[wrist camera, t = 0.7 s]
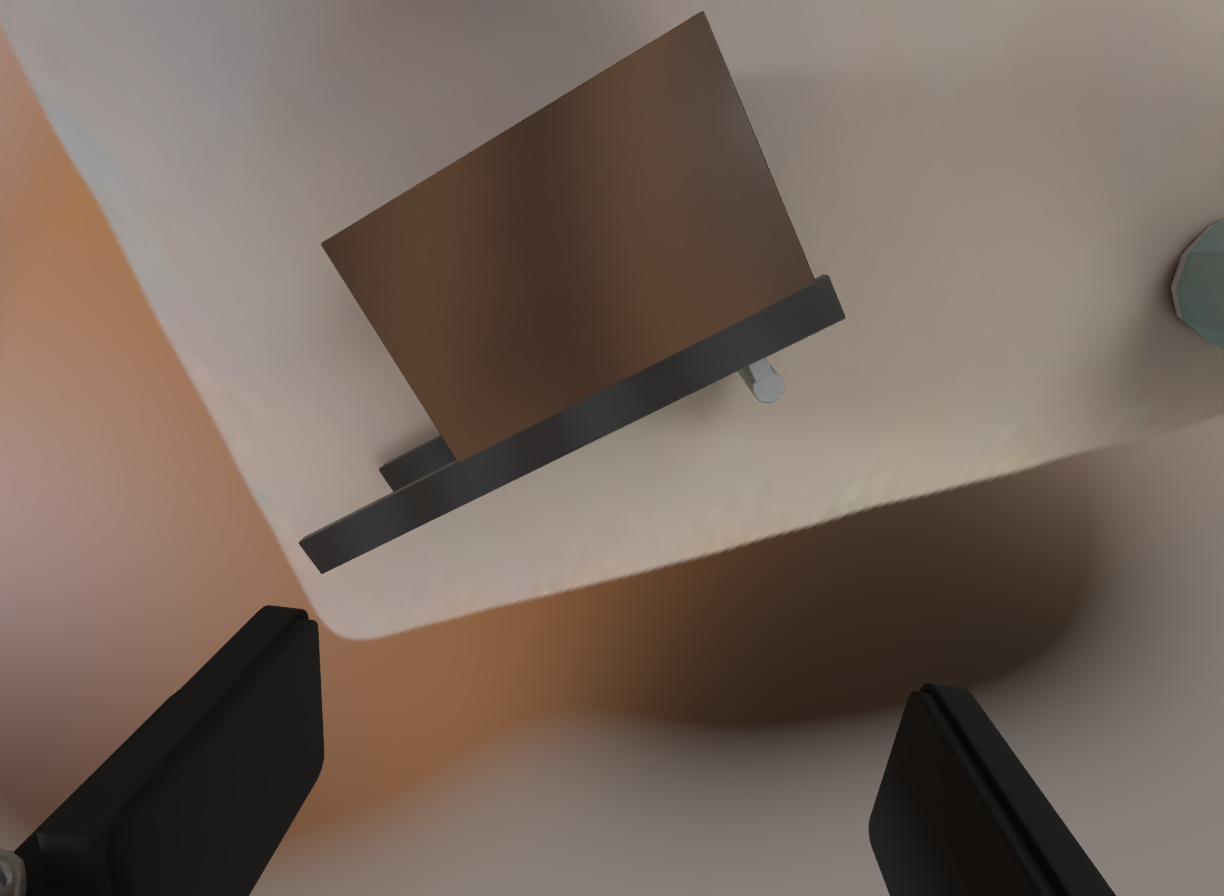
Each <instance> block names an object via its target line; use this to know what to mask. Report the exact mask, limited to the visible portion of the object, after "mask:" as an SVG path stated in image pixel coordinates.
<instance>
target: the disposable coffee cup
mask: <svg viewBox="0 0 1224 896" xmlns="http://www.w3.org/2000/svg"><path fill="white" fill-rule="evenodd" d="M1171 292H1172V296H1173V301H1174V305H1175V310H1176V314H1177V317H1179V318H1180V319H1181V320H1182V321H1183V322H1184V323H1185V324H1186V325H1188V326H1189V327H1190V328H1191V329H1193V330H1194V331H1195V332H1196V333H1197V334H1199V335H1200V336H1201V337H1202V338H1203V339H1205V340H1206V341H1207V342H1209V343H1212V344H1215V345H1218V346H1221V347H1223V348H1224V219H1222V220H1220V221H1218V222H1217V223H1215V224H1213V225H1211V226H1209V227H1207V228H1206V229H1205V230H1204V231H1203V232H1202V233H1201V234H1200V235H1199V236H1198V238H1197V239H1196V240H1195V241H1194V242H1193V243H1192V244H1191V245H1190V246H1189V247H1188V248H1187V249H1186V250H1185V251H1184V253H1183V254H1182V255H1181V257H1180V261H1179V264H1178V267H1177V270H1176V273H1175V276H1174V279H1173V282H1172V285H1171Z"/></svg>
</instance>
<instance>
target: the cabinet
mask: <svg viewBox="0 0 1224 896" xmlns="http://www.w3.org/2000/svg"><path fill="white" fill-rule="evenodd" d="M321 246H322V247H323V249H324V250H325V252H326V254H327V255H328V257H329V258H330V260H331V261H332V263H333V265H334V266H335V268H336V269H337V271H338V273H339V274H340V276H341V277H342V279H343V280H344V282H345V284H346V285H347V287H348V288H349V290H350V292H351V293H352V295H353V296H354V298H355V299H356V301H357V303H358V304H359V306H360V307H361V309H362V311H363V312H364V314H365V315H366V317H367V318H368V320H369V322H370V323H371V325H372V326H373V328H374V330H375V331H376V333H377V334H378V336H379V337H380V339H381V341H382V342H383V344H384V345H385V347H386V349H387V350H388V352H389V353H390V355H391V356H392V358H393V360H394V361H395V363H396V364H397V366H398V368H399V369H400V371H401V372H402V374H403V375H404V377H405V379H406V380H407V382H408V383H409V385H410V387H411V388H412V390H413V391H414V393H415V394H416V396H417V398H418V399H419V401H420V402H421V404H422V406H423V407H424V409H425V410H426V412H427V413H428V415H429V417H430V418H431V420H432V421H433V423H434V425H435V426H436V428H437V429H438V431H439V432H440V434H441V435H440V436H438V437H436V438H434V439H432V440H430V441H428V442H426V443H424V444H423V445H421V446H419V447H417V448H415V449H413V450H411V451H409V452H407V453H405V454H403V455H401V456H399V457H397V458H395V459H393V460H392V461H390V462H388V463H386V464H384V465H383V466H382V467H380V468H379V471H380V472H381V474H382V475H383V477H384V478H385V480H386V481H387V483H388V484H389V486H390V487H391V489H392V490H393V492H392V493H390V494H388V495H386V496H384V497H382V498H380V499H378V500H376V501H375V502H373V503H371V504H369V505H367V506H365V507H363V508H361V509H359V510H357V511H355V512H353V513H351V514H349V515H347V516H345V517H343V518H341V519H339V520H337V521H335V522H333V523H331V524H329V525H327V526H325V527H323V528H321V529H319V530H317V531H315V532H313V533H311V534H309V535H307V536H305V537H304V538H303V539H302V540H301V541H300V542H299V544H300V546H301V547H302V548H303V550H304V551H305V553H306V554H307V555H308V557H309V558H310V559H311V561H312V562H313V563H314V565H315V566H316V567H317V569H318V570H319V571H320V573H321V574H323V573H325V572H327V571H329V570H331V569H333V568H335V567H337V566H340V565H342V564H344V563H346V562H348V561H350V560H352V559H354V558H356V557H358V556H360V555H362V554H364V553H366V552H368V551H370V550H372V549H374V548H376V547H378V546H380V545H382V544H385V543H387V542H389V541H391V540H393V539H395V538H397V537H399V536H401V535H403V534H405V533H407V532H409V531H411V530H413V529H415V528H417V527H419V526H421V525H423V524H425V523H428V522H430V521H432V520H434V519H436V518H438V517H440V516H442V515H444V514H446V513H448V512H450V511H452V510H454V509H456V508H458V507H460V506H462V505H464V504H466V503H468V502H470V501H473V500H475V499H477V498H479V497H481V496H483V495H485V494H487V493H489V492H491V491H493V490H495V489H497V488H499V487H501V486H503V485H505V484H507V483H509V482H511V481H513V480H516V479H518V478H520V477H522V476H524V475H526V474H528V473H530V472H532V471H534V470H536V469H538V468H540V467H542V466H544V465H546V464H548V463H550V462H552V461H554V460H556V459H559V458H561V457H563V456H565V455H567V454H569V453H571V452H573V451H575V450H577V449H579V448H581V447H583V446H585V445H587V444H589V443H591V442H593V441H595V440H597V439H599V438H601V437H604V436H606V435H608V434H610V433H612V432H614V431H616V430H618V429H620V428H622V427H624V426H626V425H628V424H630V423H632V422H634V421H636V420H638V419H640V418H642V417H644V416H647V415H649V414H651V413H653V412H655V411H657V410H659V409H661V408H663V407H665V406H667V405H669V404H671V403H673V402H675V401H677V400H679V399H681V398H683V397H685V396H687V395H689V394H692V393H694V392H696V391H698V390H700V389H702V388H704V387H706V386H708V385H710V384H712V383H714V382H716V381H718V380H720V379H722V378H724V377H726V376H728V375H730V374H732V373H735V372H737V371H739V370H741V369H743V368H745V367H747V366H749V365H751V364H753V363H755V362H757V361H759V360H761V359H763V358H765V357H767V356H769V355H771V354H773V353H775V352H777V351H780V350H782V349H784V348H786V347H788V346H790V345H792V344H794V343H796V342H798V341H800V340H802V339H804V338H806V337H808V336H810V335H812V334H814V333H816V332H818V331H820V330H823V329H825V328H827V327H829V326H831V325H833V324H835V323H837V322H839V321H841V320H843V319H845V315H844V312H843V310H842V307H841V305H840V302H839V300H838V298H837V295H836V293H835V290H834V288H833V285H832V283H831V280H830V278H829V276H828V275H822V276H820V277H818V278H816V279H814V276H813V274H812V271H811V269H810V267H809V264H808V262H807V259H806V257H805V255H804V252H803V250H802V247H801V245H800V242H799V240H798V238H797V235H796V233H795V230H794V228H793V226H792V223H791V221H790V218H789V216H788V214H787V211H786V209H785V206H784V204H783V201H782V199H781V197H780V194H779V192H778V189H777V187H776V185H775V182H774V180H773V177H772V175H771V173H770V170H769V168H768V165H767V163H766V160H765V158H764V156H763V153H762V151H761V148H760V146H759V144H758V141H757V139H756V136H755V134H754V132H753V129H752V127H751V124H750V122H749V120H748V117H747V115H746V112H745V110H744V107H743V105H742V103H741V100H740V98H739V95H738V93H737V91H736V88H735V86H734V83H733V81H732V79H731V76H730V74H729V71H728V69H727V66H726V64H725V62H724V59H723V57H722V54H721V52H720V50H719V47H718V45H717V42H716V40H715V38H714V35H713V33H712V30H711V28H710V25H709V23H708V21H707V18H706V16H705V13H704V12H703V11H701V12H700V13H698V14H696V15H695V16H693V17H691V18H690V19H688V20H687V21H685V22H683V23H682V24H680V25H678V26H677V27H675V28H673V29H672V30H670V31H669V32H667V33H665V34H664V35H662V36H660V37H659V38H657V39H655V40H654V41H652V42H650V43H649V44H647V45H646V46H644V47H642V48H641V49H639V50H637V51H636V52H634V53H632V54H631V55H629V56H627V57H626V58H624V59H623V60H621V61H619V62H618V63H616V64H614V65H613V66H611V67H609V68H608V69H606V70H605V71H603V72H601V73H600V74H598V75H596V76H595V77H593V78H591V79H590V80H588V81H586V82H585V83H583V84H582V85H580V86H578V87H577V88H575V89H573V90H572V91H570V92H568V93H567V94H565V95H564V96H562V97H560V98H559V99H557V100H555V101H554V102H552V103H550V104H549V105H547V106H545V107H544V108H542V109H541V110H539V111H537V112H536V113H534V114H532V115H531V116H529V117H527V118H526V119H524V120H522V121H521V122H519V123H518V124H516V125H514V126H513V127H511V128H509V129H508V130H506V131H504V132H503V133H501V134H500V135H498V136H496V137H495V138H493V139H491V140H490V141H488V142H486V143H485V144H483V145H481V146H480V147H478V148H477V149H475V150H473V151H472V152H470V153H468V154H467V155H465V156H463V157H462V158H460V159H458V160H457V161H455V162H454V163H452V164H450V165H449V166H447V167H445V168H444V169H442V170H440V171H439V172H437V173H436V174H434V175H432V176H431V177H429V178H427V179H426V180H424V181H422V182H421V183H419V184H417V185H416V186H414V187H413V188H411V189H409V190H408V191H406V192H404V193H403V194H401V195H399V196H398V197H396V198H395V199H393V200H391V201H390V202H388V203H386V204H385V205H383V206H381V207H380V208H378V209H376V210H375V211H373V212H372V213H370V214H368V215H367V216H365V217H363V218H362V219H360V220H358V221H357V222H355V223H353V224H352V225H350V226H349V227H347V228H345V229H344V230H342V231H340V232H339V233H337V234H335V235H334V236H332V237H331V238H329V239H327V240H326V241H324V242H322V243H321Z"/></svg>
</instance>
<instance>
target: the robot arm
mask: <svg viewBox="0 0 1224 896" xmlns="http://www.w3.org/2000/svg"><path fill="white" fill-rule="evenodd" d="M319 656H320V654H319V633H318V624H317V623H316V621H314V620H309V618H308V614H307V612H306V611H305V610H303V609H296V608H288V607H279V606H271V605H268V606H264V607H263V608H262V609H260V610H259V611H258V612H257V613H256V614H255V615H254V616H253V617H252V618H251V619H250V620H249V621H248V622H247V623H246V624H245V625H244V626H243V627H242V628H241V629H240V630H239V631H238V632H237V633H236V634H235V635H234V636H233V637H232V638H231V639H230V640H229V641H228V642H227V643H226V644H225V645H224V646H223V647H222V648H221V649H220V650H219V651H218V652H217V653H216V654H215V655H214V656H213V657H212V658H211V659H210V660H209V661H208V662H207V663H206V664H205V665H204V666H203V667H202V668H201V669H200V670H199V671H198V672H197V673H196V674H195V675H194V676H193V677H192V678H191V679H190V680H189V681H188V682H187V683H186V684H185V685H184V686H183V687H182V688H181V689H180V690H178V691H177V692H176V693H174V694H173V695H172V696H171V697H170V698H168V699H167V700H166V701H165V702H164V703H163V704H162V705H161V706H160V707H159V708H158V709H157V710H156V712H154V713H153V714H152V715H151V716H150V717H149V718H148V719H147V720H146V721H145V722H144V723H143V724H142V725H141V726H140V727H139V728H138V729H137V730H136V731H135V732H134V733H133V734H132V735H131V736H130V737H129V738H128V739H127V740H126V741H125V742H124V743H123V744H122V745H121V746H120V747H119V748H118V749H117V750H116V751H115V752H114V753H113V754H112V755H111V756H110V757H109V758H108V759H107V760H106V761H105V762H104V763H103V764H102V765H101V766H100V767H99V768H98V769H97V770H96V771H95V772H94V773H93V774H92V775H91V776H90V777H89V778H88V779H87V780H86V781H85V782H84V783H83V784H82V785H81V786H80V787H79V788H78V789H77V790H76V791H75V792H74V793H73V794H72V795H71V796H70V797H69V798H68V799H67V800H66V801H65V802H64V803H62V805H61V806H60V807H58V809H56V810H55V811H54V812H53V814H52V815H50V816H49V817H48V818H47V819H46V820H45V821H44V822H43V823H42V824H41V825H40V826H39V827H38V828H37V829H36V830H35V831H34V832H33V833H32V834H31V835H30V836H29V837H28V838H27V839H26V840H25V841H24V842H23V843H22V844H21V845H20V846H19V847H18V848H17V849H16V850H15V851H14V852H12V851H9V850H4V849H0V896H249V895H250V893H251V891H252V889H253V888H254V886H255V884H256V883H257V881H258V879H259V878H260V876H261V874H262V872H263V871H264V869H265V867H266V866H267V864H268V862H269V861H270V859H271V857H272V856H273V854H274V852H275V850H276V849H277V847H278V845H279V844H280V842H281V840H282V839H283V837H284V835H285V834H286V832H287V830H288V828H289V827H290V825H291V823H292V822H293V820H294V818H295V817H296V815H297V813H298V811H299V810H300V808H301V806H302V805H303V803H304V801H305V799H306V798H307V796H308V794H309V793H310V791H311V789H312V788H313V786H314V784H315V782H316V781H317V779H318V777H319V774H320V772H321V769H322V765H323V760H324V738H323V718H322V697H321V676H320V657H319ZM869 837H870V843H871V846H872V849H873V852H874V854H875V857H876V860H877V862H878V865H879V868H880V870H881V873H882V875H883V878H884V881H885V884H886V886H887V889H888V892H889V894H890V896H1116V895H1115V894H1114V892H1113V891H1112V889H1111V888H1110V887H1109V885H1108V884H1107V882H1106V881H1105V880H1104V878H1103V877H1102V875H1101V874H1100V873H1099V871H1098V870H1097V868H1096V867H1095V866H1094V864H1093V863H1092V861H1091V860H1090V859H1089V857H1088V856H1087V855H1086V853H1085V852H1084V850H1083V849H1082V848H1081V846H1080V845H1079V843H1078V842H1077V840H1076V839H1075V838H1074V837H1073V835H1072V833H1071V832H1070V831H1069V830H1068V828H1067V827H1066V825H1065V824H1064V822H1063V821H1062V820H1061V818H1060V817H1059V815H1058V814H1057V813H1056V811H1055V810H1054V808H1053V807H1052V806H1051V804H1050V803H1049V801H1048V800H1047V799H1046V797H1045V796H1044V794H1043V793H1042V792H1041V790H1040V789H1039V787H1038V786H1037V785H1036V783H1035V782H1034V780H1033V779H1032V778H1031V776H1030V775H1029V773H1028V772H1027V771H1026V769H1025V768H1024V766H1023V765H1022V764H1021V762H1020V761H1019V759H1018V758H1017V757H1016V756H1015V754H1014V752H1013V751H1012V750H1011V748H1010V747H1009V745H1008V744H1007V743H1006V741H1005V740H1004V738H1003V737H1002V736H1001V734H1000V733H999V731H998V730H997V729H996V727H995V726H994V725H993V723H992V722H991V720H990V719H989V718H988V716H987V715H986V713H985V712H984V711H983V709H982V708H981V706H980V705H979V704H978V702H977V701H976V699H975V698H974V697H973V695H972V694H971V693H970V692H969V691H968V690H967V689H965V688H963V687H956V686H947V685H939V684H931V683H928V684H924V685H923V686H922V687H921V688H920V690H919V692H916V691H915V692H912V693H911V694H910V695H909V698H908V700H907V703H906V706H905V710H904V712H903V716H902V719H901V722H900V725H899V728H898V732H897V734H896V738H895V741H894V744H893V747H892V750H891V753H890V757H889V760H888V763H887V766H886V769H885V772H884V775H883V779H882V782H881V785H880V788H879V791H878V794H877V797H876V800H875V804H874V807H873V810H872V813H871V816H870V821H869Z"/></svg>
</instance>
